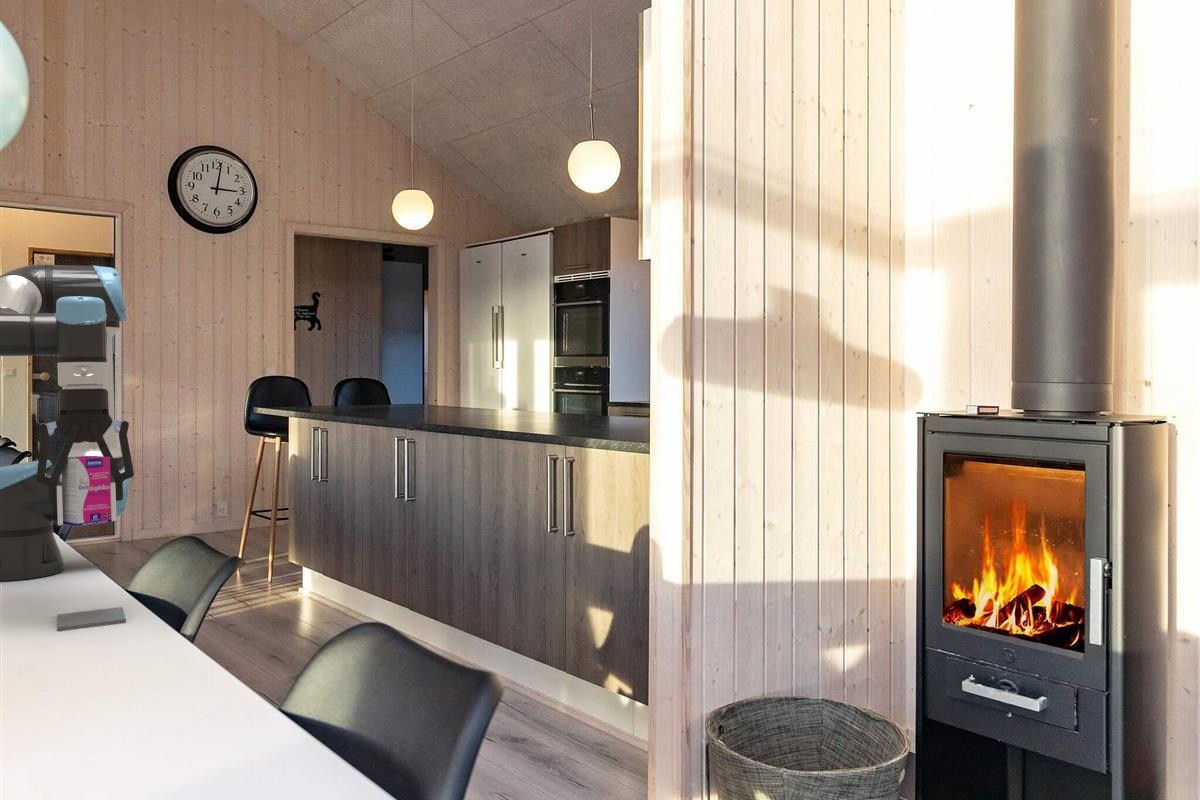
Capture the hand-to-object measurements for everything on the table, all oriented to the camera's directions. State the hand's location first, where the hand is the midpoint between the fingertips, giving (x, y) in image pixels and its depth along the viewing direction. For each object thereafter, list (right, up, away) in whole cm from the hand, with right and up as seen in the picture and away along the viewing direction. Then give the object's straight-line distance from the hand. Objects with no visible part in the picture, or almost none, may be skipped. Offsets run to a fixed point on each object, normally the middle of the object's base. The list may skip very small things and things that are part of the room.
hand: (87, 522), depth 167 cm
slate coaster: (+2, -16, -2) cm, 16 cm away
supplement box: (0, -1, 0) cm, 1 cm away
